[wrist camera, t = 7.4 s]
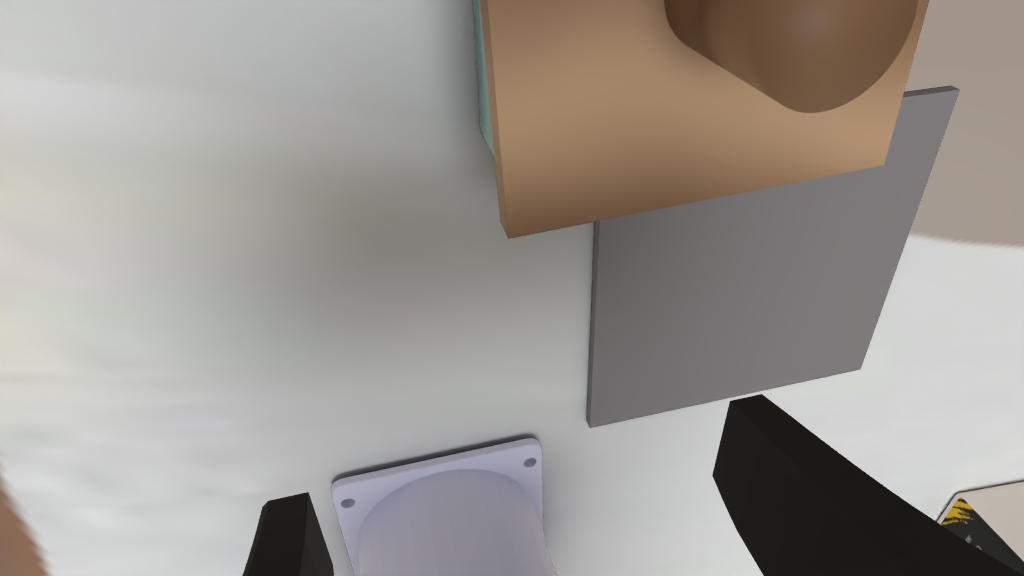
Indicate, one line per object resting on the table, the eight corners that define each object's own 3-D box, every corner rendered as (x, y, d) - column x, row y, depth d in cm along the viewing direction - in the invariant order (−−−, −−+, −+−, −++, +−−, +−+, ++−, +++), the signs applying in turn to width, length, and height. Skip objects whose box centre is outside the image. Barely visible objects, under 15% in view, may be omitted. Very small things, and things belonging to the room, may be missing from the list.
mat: (854, 363, 29) (860, 369, 29) (586, 420, 27) (590, 427, 27) (950, 85, 22) (960, 89, 22) (599, 132, 20) (604, 138, 20)
